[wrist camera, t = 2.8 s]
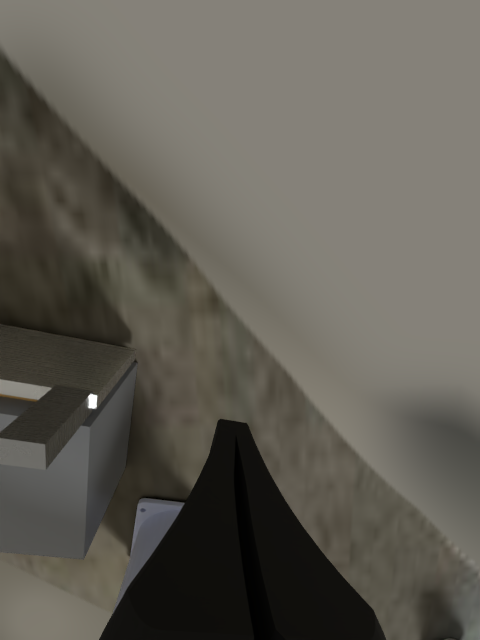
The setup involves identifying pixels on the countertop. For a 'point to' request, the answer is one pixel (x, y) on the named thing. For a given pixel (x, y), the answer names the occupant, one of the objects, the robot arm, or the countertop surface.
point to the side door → (53, 389)
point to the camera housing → (66, 480)
